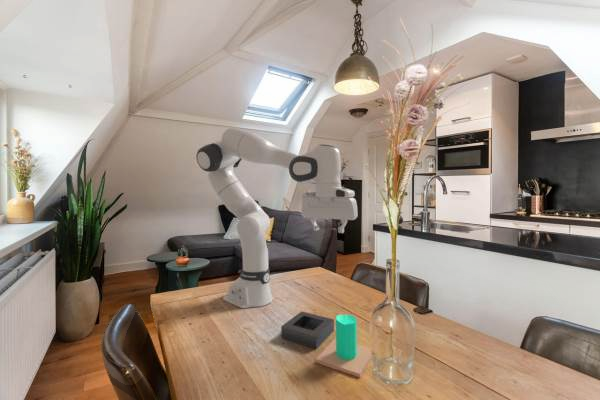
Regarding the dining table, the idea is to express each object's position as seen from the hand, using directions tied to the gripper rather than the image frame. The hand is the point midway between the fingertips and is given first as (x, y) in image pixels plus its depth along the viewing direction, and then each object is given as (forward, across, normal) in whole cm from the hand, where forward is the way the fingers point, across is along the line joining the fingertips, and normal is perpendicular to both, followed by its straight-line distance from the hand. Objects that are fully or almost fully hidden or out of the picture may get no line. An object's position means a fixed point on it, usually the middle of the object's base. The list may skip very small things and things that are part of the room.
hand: (328, 231), depth 101 cm
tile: (+34, +12, -14) cm, 39 cm away
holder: (+34, -4, -8) cm, 35 cm away
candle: (+33, +12, -14) cm, 38 cm away
